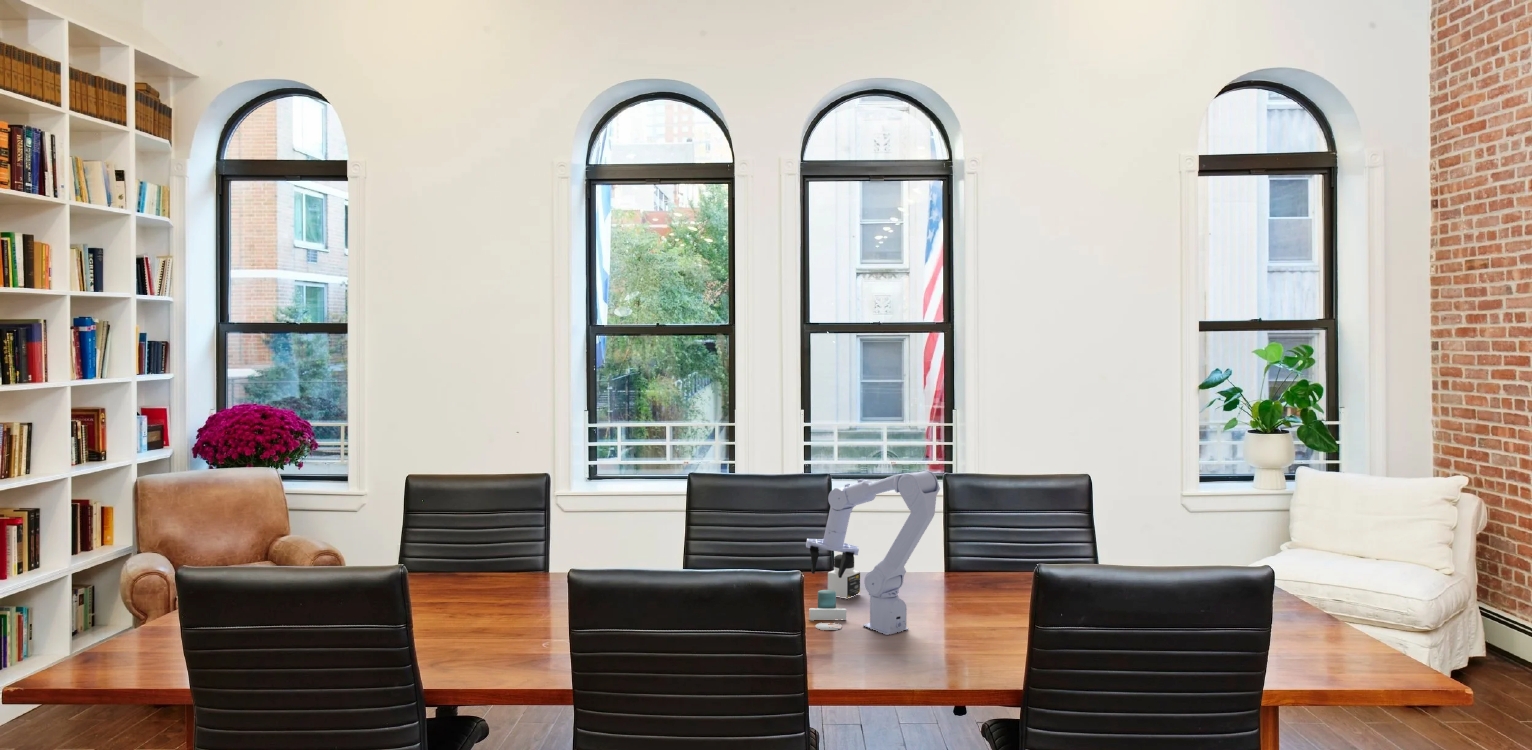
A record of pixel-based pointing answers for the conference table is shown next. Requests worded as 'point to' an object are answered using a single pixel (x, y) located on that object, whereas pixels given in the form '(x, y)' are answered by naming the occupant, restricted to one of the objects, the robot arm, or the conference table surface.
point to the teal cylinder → (827, 599)
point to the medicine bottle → (844, 579)
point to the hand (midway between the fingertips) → (826, 574)
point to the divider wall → (826, 614)
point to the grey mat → (827, 626)
